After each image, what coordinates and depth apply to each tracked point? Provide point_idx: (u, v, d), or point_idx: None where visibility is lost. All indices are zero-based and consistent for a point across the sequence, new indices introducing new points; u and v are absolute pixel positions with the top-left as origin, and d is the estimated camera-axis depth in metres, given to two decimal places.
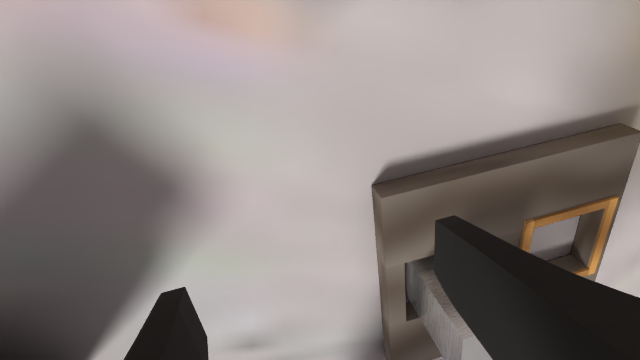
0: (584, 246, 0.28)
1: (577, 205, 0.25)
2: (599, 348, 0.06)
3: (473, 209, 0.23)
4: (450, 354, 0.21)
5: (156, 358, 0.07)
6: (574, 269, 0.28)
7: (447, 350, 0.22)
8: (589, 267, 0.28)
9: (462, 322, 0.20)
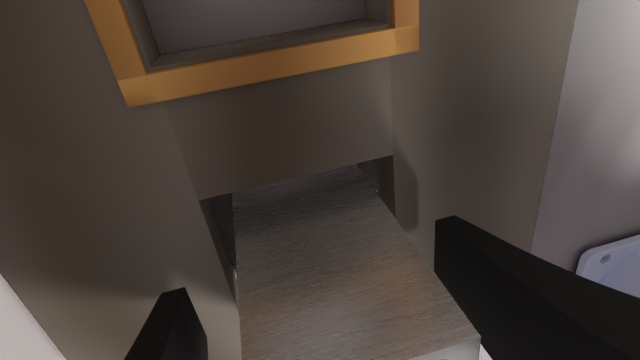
0: None
1: None
2: (600, 347, 0.06)
3: (105, 254, 0.10)
4: None
5: (156, 358, 0.07)
6: None
7: None
8: None
9: None
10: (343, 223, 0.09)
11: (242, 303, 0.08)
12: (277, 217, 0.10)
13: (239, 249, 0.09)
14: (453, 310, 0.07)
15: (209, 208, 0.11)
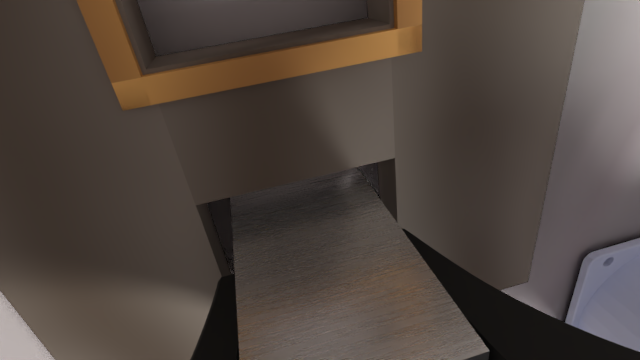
0: None
1: None
2: None
3: (100, 260, 0.10)
4: None
5: (233, 336, 0.08)
6: None
7: None
8: None
9: None
10: (345, 230, 0.09)
11: (241, 314, 0.07)
12: (276, 222, 0.10)
13: (238, 256, 0.09)
14: (460, 322, 0.07)
15: (207, 212, 0.11)
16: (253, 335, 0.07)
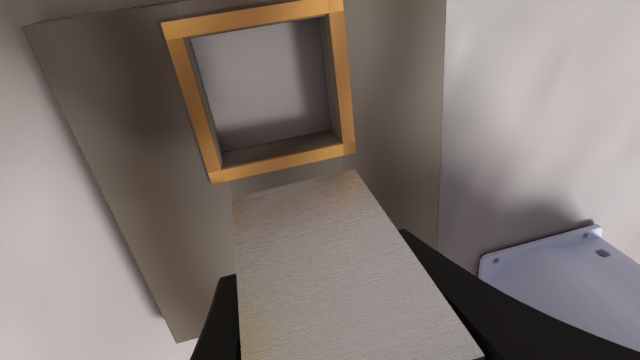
0: None
1: (184, 100, 0.15)
2: None
3: (190, 255, 0.19)
4: None
5: (233, 336, 0.08)
6: (327, 40, 0.16)
7: None
8: (325, 13, 0.15)
9: None
10: (344, 235, 0.09)
11: (242, 318, 0.08)
12: (277, 227, 0.10)
13: (239, 261, 0.09)
14: (456, 327, 0.07)
15: None
16: (255, 339, 0.07)
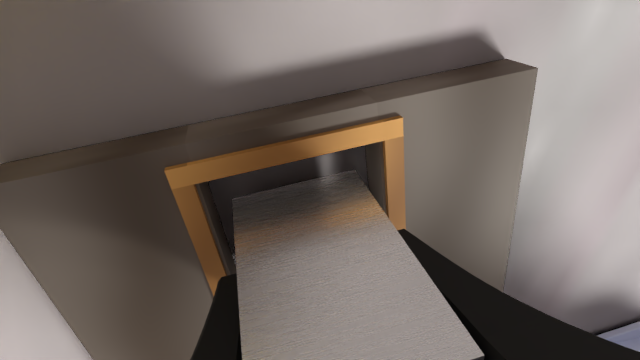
0: None
1: (195, 250, 0.12)
2: None
3: None
4: None
5: (233, 336, 0.08)
6: (380, 167, 0.12)
7: None
8: (379, 141, 0.11)
9: None
10: (345, 235, 0.09)
11: (243, 318, 0.08)
12: (277, 227, 0.10)
13: (240, 261, 0.09)
14: (456, 327, 0.07)
15: None
16: (255, 339, 0.07)
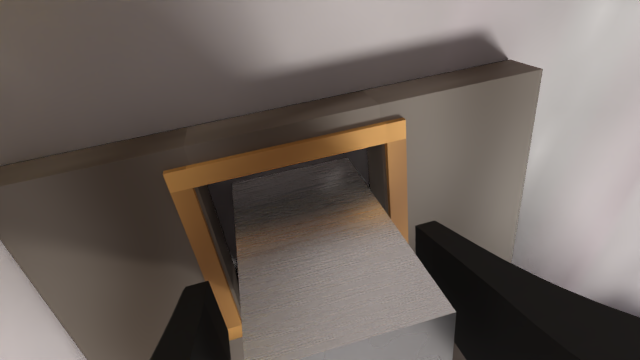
0: None
1: (194, 255, 0.12)
2: (567, 358, 0.06)
3: None
4: None
5: (187, 349, 0.07)
6: (381, 170, 0.12)
7: None
8: (382, 143, 0.11)
9: None
10: (336, 214, 0.10)
11: (242, 285, 0.08)
12: (274, 208, 0.11)
13: (239, 237, 0.10)
14: (433, 289, 0.08)
15: None
16: (253, 302, 0.08)
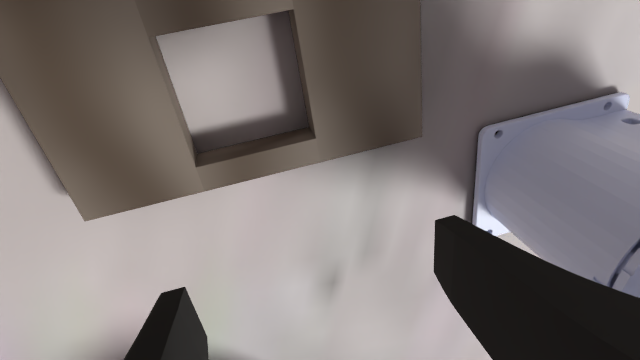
0: None
1: None
2: (599, 347, 0.06)
3: (81, 79, 0.14)
4: None
5: (156, 358, 0.07)
6: None
7: None
8: None
9: None
10: None
11: None
12: None
13: None
14: None
15: (161, 58, 0.15)
16: None
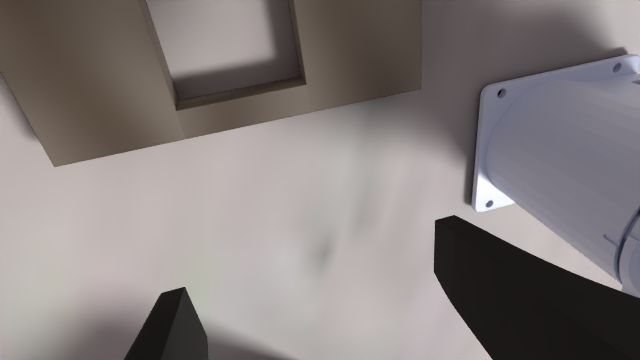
0: None
1: None
2: (599, 347, 0.06)
3: (48, 0, 0.13)
4: None
5: (156, 358, 0.07)
6: None
7: None
8: None
9: None
10: None
11: None
12: None
13: None
14: None
15: None
16: None
